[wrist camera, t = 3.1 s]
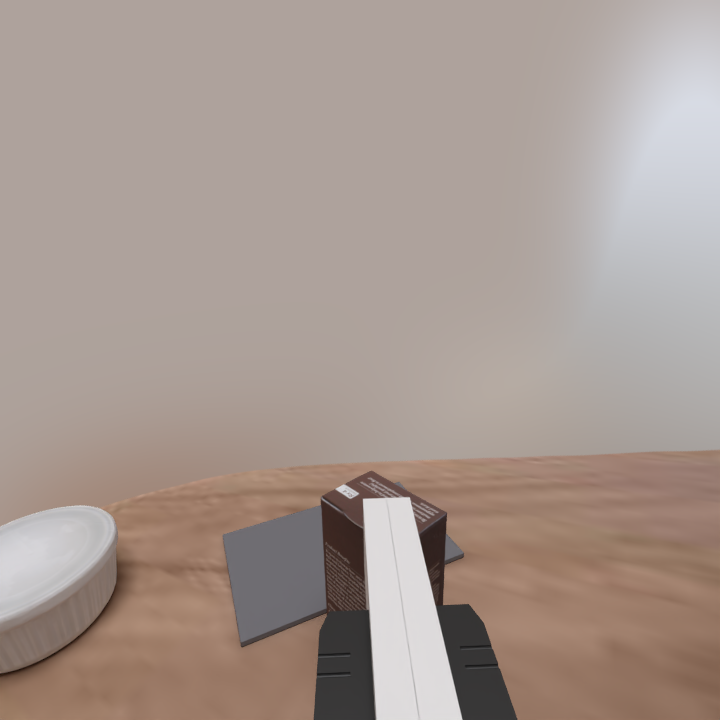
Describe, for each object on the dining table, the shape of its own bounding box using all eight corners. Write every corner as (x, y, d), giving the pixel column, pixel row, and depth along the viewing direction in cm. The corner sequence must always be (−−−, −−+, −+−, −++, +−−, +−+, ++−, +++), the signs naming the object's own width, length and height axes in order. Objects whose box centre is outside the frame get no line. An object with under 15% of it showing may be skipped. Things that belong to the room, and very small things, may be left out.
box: (443, 674, 25) (451, 510, 21) (393, 734, 22) (392, 557, 18) (374, 611, 29) (371, 465, 25) (325, 654, 26) (313, 497, 23)
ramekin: (-113, 681, 26) (-147, 618, 24) (44, 549, 36) (28, 499, 34) (40, 710, 24) (14, 643, 22) (159, 562, 34) (147, 510, 33)
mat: (399, 485, 43) (399, 481, 43) (463, 556, 34) (463, 552, 34) (223, 538, 37) (222, 534, 36) (241, 647, 27) (240, 642, 27)
